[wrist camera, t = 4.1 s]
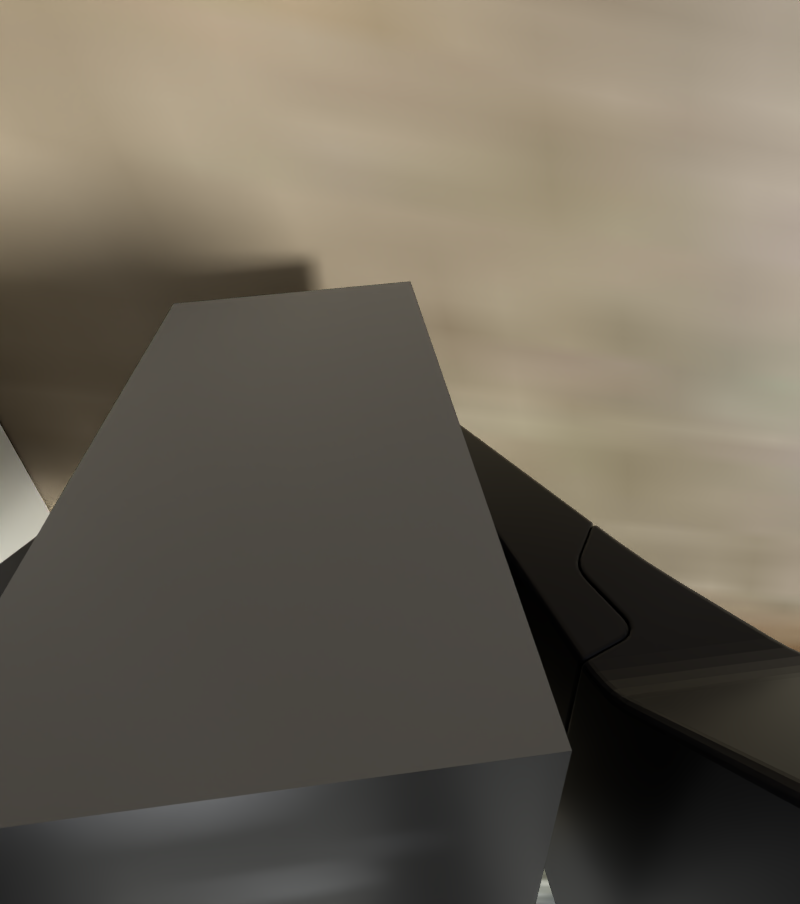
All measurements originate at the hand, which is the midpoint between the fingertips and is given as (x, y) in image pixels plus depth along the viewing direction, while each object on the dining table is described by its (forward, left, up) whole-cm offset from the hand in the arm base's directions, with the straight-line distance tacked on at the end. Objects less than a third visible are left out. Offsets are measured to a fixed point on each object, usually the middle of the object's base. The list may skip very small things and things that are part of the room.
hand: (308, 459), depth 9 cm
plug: (0, 0, -2) cm, 2 cm away
